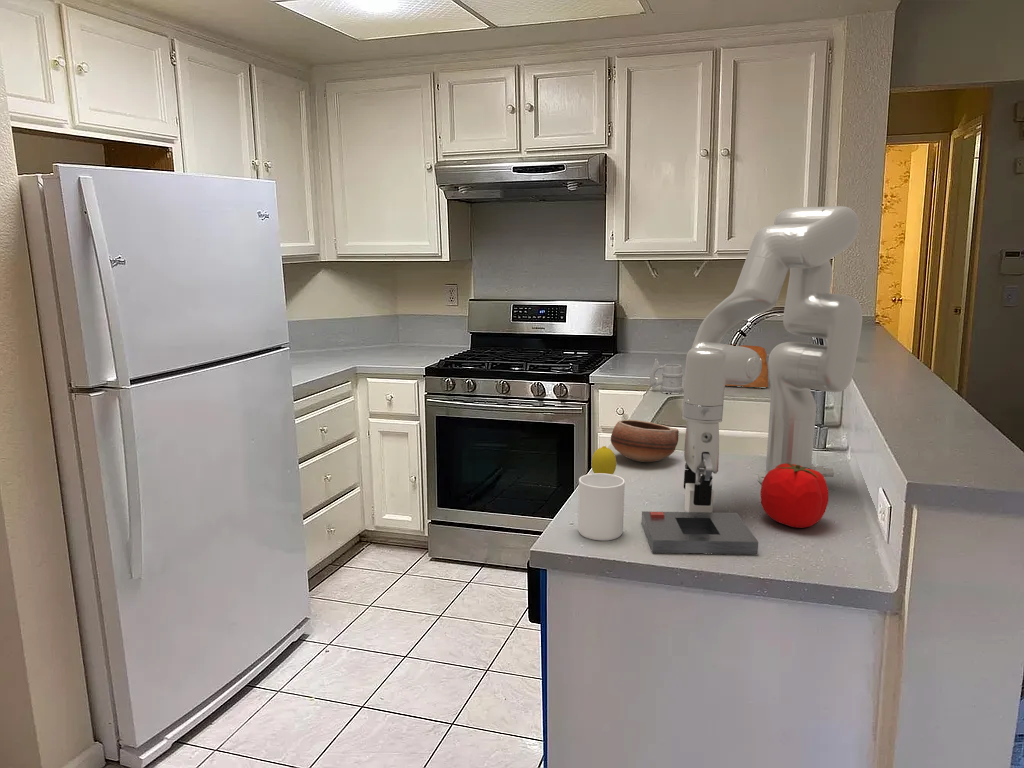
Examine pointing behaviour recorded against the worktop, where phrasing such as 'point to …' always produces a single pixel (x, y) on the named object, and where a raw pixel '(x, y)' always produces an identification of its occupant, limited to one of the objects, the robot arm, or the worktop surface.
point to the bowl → (644, 440)
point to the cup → (601, 506)
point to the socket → (698, 533)
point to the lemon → (603, 461)
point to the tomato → (794, 495)
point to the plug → (690, 498)
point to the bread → (763, 377)
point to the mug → (668, 377)
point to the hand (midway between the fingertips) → (696, 496)
